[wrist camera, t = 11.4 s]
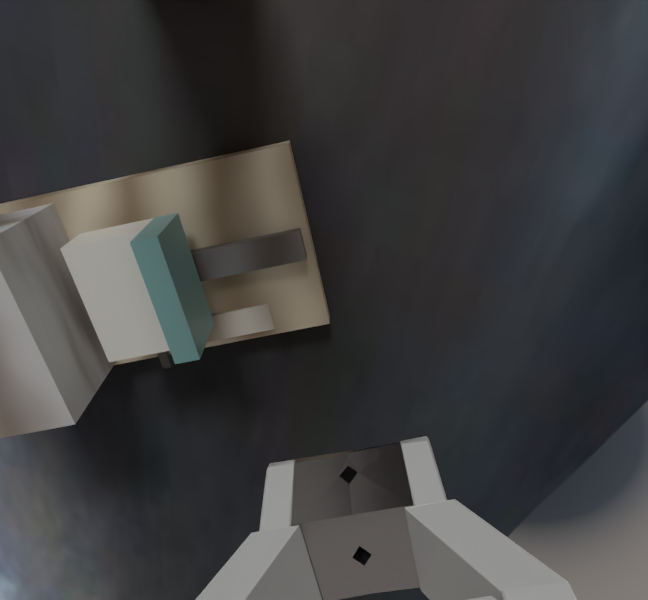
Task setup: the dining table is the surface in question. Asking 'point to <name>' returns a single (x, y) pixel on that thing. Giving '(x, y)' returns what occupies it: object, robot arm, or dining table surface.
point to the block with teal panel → (142, 290)
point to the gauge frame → (207, 251)
